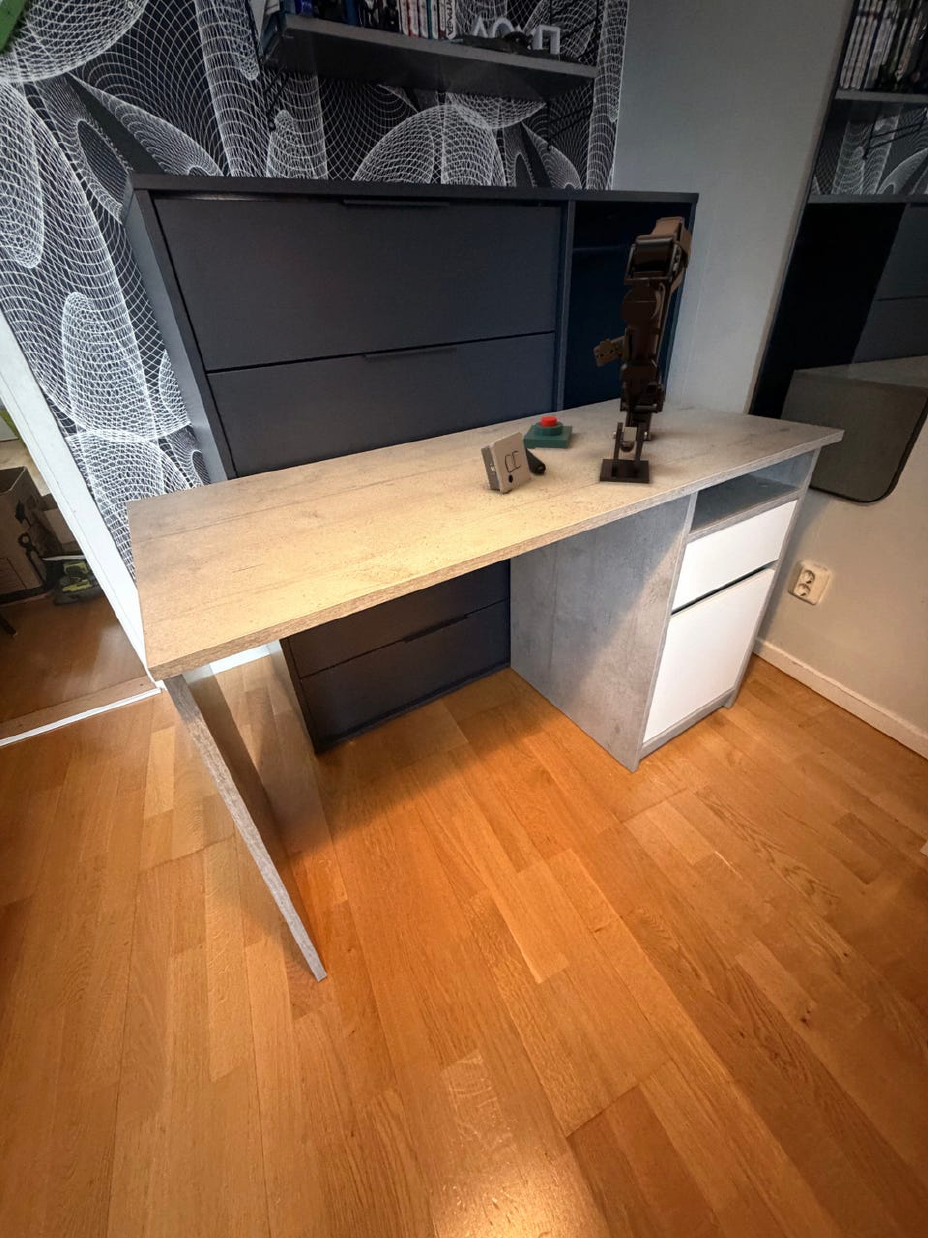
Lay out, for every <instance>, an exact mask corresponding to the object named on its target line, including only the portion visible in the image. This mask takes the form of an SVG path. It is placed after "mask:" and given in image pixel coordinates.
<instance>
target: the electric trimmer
mask: <svg viewBox="0 0 928 1238" xmlns="http://www.w3.org/2000/svg"><path fill="white" fill-rule="evenodd" d="M524 448H525V447H524ZM525 453H526V457H527V462H528V466H529V471H530V472H533V473H541V472H542V473H543V472H545V471H547V467H546V466H547V465H546V464H545V463H544V461H542V460H541V459H539V458H538V457H536V455H534V453H532V451H530V449H526V448H525Z"/></svg>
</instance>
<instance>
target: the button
mask: <svg viewBox="0 0 928 1238" xmlns="http://www.w3.org/2000/svg"><path fill="white" fill-rule="evenodd" d="M557 421H558V418H557V417H556V416H543V417H541V419H540V422H541V426H544V427H552V426H557Z"/></svg>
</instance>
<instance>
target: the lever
mask: <svg viewBox="0 0 928 1238" xmlns="http://www.w3.org/2000/svg"><path fill="white" fill-rule="evenodd" d="M624 428H625V429H623V431H624V436H623V440H621V444H620V451H621V452H622V453H624V454H629V453H631V452H632V451H633V450H634V449H635V447H636V441H635V440H636V433H637V428H636V427H625V426H624Z"/></svg>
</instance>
